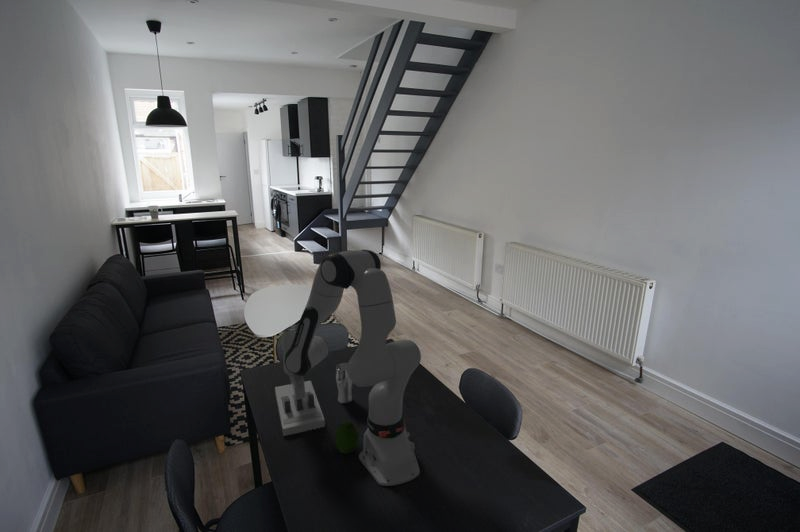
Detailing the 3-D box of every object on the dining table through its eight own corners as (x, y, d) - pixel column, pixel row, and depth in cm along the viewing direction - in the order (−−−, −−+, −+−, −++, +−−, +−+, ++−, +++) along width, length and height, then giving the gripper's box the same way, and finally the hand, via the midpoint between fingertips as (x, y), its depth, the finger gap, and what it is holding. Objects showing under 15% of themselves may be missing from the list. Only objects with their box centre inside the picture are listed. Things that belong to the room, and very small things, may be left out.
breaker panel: (324, 426, 156) (324, 409, 154) (283, 436, 151) (282, 417, 149) (310, 386, 183) (310, 371, 181) (275, 393, 178) (274, 377, 176)
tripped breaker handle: (302, 407, 162) (302, 398, 161) (297, 408, 161) (296, 399, 160) (301, 404, 164) (301, 395, 163) (296, 405, 163) (295, 396, 162)
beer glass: (355, 395, 177) (354, 362, 173) (351, 404, 170) (350, 371, 166) (339, 394, 177) (337, 362, 174) (334, 403, 171) (333, 370, 167)
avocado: (337, 461, 139) (336, 429, 136) (334, 445, 146) (333, 415, 143) (361, 456, 141) (360, 425, 138) (357, 441, 148) (356, 411, 145)
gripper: (308, 376, 154) (310, 409, 157) (299, 353, 172) (301, 383, 176) (290, 379, 152) (293, 413, 155) (284, 355, 170) (286, 386, 174)
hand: (297, 397), depth 166 cm, fingers closed
